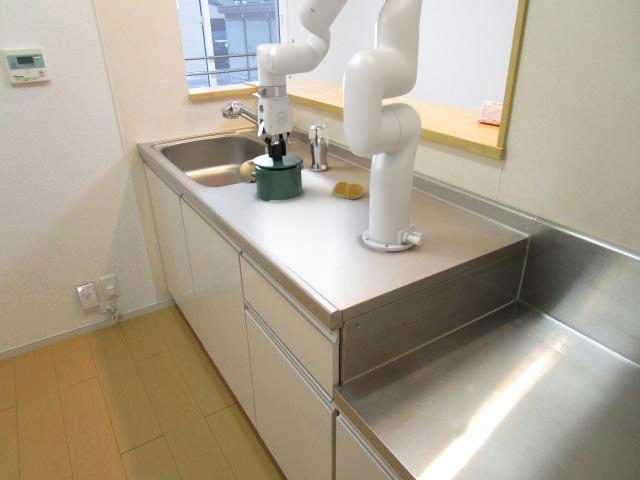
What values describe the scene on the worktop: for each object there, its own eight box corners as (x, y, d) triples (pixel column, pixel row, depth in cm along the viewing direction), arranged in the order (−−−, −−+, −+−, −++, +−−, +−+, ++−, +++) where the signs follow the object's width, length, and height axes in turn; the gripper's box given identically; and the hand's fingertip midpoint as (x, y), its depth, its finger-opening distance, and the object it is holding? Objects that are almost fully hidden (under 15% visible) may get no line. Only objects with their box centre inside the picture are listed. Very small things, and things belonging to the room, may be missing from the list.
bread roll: (360, 201, 131) (360, 188, 130) (330, 198, 134) (330, 186, 132) (365, 191, 138) (366, 179, 137) (337, 189, 141) (337, 177, 139)
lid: (312, 161, 135) (311, 141, 132) (276, 173, 125) (275, 152, 122) (278, 154, 143) (277, 134, 141) (243, 164, 134) (241, 144, 131)
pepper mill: (332, 167, 162) (332, 125, 155) (322, 172, 157) (321, 129, 150) (316, 165, 165) (315, 123, 159) (306, 170, 160) (304, 127, 154)
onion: (235, 180, 152) (233, 159, 149) (253, 174, 157) (251, 154, 154) (250, 184, 147) (248, 163, 144) (268, 178, 152) (267, 158, 149)
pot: (317, 190, 140) (316, 160, 136) (272, 208, 128) (269, 176, 124) (286, 181, 149) (285, 153, 145) (241, 197, 136) (238, 167, 132)
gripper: (259, 96, 117) (265, 165, 126) (303, 89, 128) (305, 152, 136) (241, 94, 122) (247, 160, 130) (285, 87, 133) (288, 148, 141)
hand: (277, 156), depth 133 cm, fingers closed on lid, 3 cm apart
